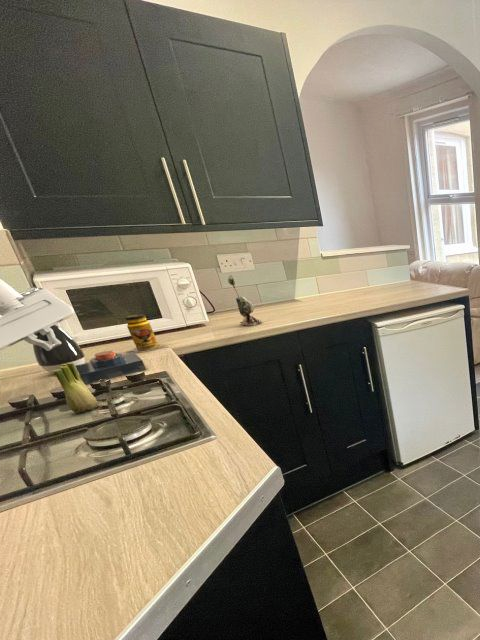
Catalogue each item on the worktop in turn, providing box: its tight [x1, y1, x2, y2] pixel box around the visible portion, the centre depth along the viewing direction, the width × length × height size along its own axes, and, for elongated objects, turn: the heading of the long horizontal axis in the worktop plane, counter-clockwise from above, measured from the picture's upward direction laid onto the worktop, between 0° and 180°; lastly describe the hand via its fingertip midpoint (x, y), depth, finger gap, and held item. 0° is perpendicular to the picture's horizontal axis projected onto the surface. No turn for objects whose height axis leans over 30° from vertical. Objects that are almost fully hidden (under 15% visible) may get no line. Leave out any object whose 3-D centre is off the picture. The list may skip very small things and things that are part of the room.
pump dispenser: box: [32, 324, 85, 375], centre depth 127 cm, size 10×10×15 cm
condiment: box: [124, 313, 164, 353], centre depth 146 cm, size 7×8×12 cm
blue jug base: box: [75, 352, 147, 386], centre depth 126 cm, size 14×12×5 cm
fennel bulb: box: [53, 363, 99, 414], centre depth 101 cm, size 6×5×12 cm
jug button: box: [94, 350, 116, 360], centre depth 125 cm, size 4×4×2 cm
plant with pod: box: [227, 274, 262, 327], centre depth 169 cm, size 8×11×20 cm
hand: (55, 347), depth 105 cm, fingers closed
